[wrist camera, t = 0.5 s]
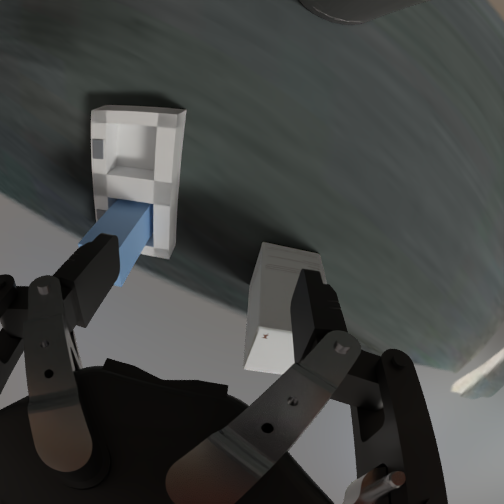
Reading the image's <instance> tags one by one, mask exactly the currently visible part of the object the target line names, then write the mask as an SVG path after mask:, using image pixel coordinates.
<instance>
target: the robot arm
mask: <svg viewBox="0 0 504 504" xmlns="http://www.w3.org/2000/svg"><path fill="white" fill-rule="evenodd" d="M299 1H300V2H301V3H302V4H303V6H304V7H306V8H307V9H308V10H309V11H311V12H312V13H313V14H315V15H317V16H319V17H321V18H323V19H325V20H328V21H330V22H334V23H339V24H346V25H355V24H362V23H365V22H368V21H371V20H373V19H376V18H379V17H382V16H384V15H387V14H390V13H393V12H395V11H398V10H401V9H404V8H407V7H410V6H414V5H417V4H420V3H424V2H427V1H431V0H299ZM119 273H120V256H119V241H118V237H117V236H116V235H111V234H106V233H100V234H99V235H98V236H97V237H96V238H95V239H94V240H93V241H92V242H88V243H86V244H84V245H82V246H80V247H79V248H78V249H77V251H75V252H74V254H72V256H71V257H70V258H69V260H67V261H66V262H65V263H64V264H63V265H62V266H61V267H60V268H59V269H58V270H57V272H56V273H55V274H54V275H53V276H50V275H46V276H41V277H39V278H37V279H35V280H34V281H33V282H32V283H31V284H30V286H29V287H28V286H16V284H15V281H14V278H13V277H12V276H11V275H6V274H5V275H0V322H1V324H2V326H3V328H2V329H1V331H0V394H1V392H2V390H3V388H4V386H5V384H6V382H7V380H8V378H9V376H10V374H11V372H12V370H13V369H14V367H15V365H16V363H17V361H18V360H19V358H20V356H21V354H22V353H23V351H24V356H25V368H26V377H27V386H28V393H29V395H28V396H26V397H25V398H22V399H21V400H19V401H17V402H15V403H13V404H11V405H9V406H7V407H5V408H3V409H1V410H0V504H334V503H333V501H332V500H331V499H330V498H329V497H328V496H327V495H326V494H325V493H324V492H323V491H322V490H321V489H320V487H319V486H318V485H317V484H316V483H315V482H314V481H313V480H312V479H311V478H310V476H309V475H308V474H307V473H306V472H305V471H304V470H303V469H302V467H301V466H300V465H299V464H298V463H297V462H296V461H295V460H294V458H293V457H292V456H291V455H290V453H288V450H289V449H290V448H291V447H292V446H293V445H294V444H295V442H296V441H297V440H298V439H299V437H300V436H301V435H302V434H303V433H304V432H305V430H306V429H307V428H308V427H309V425H310V424H311V423H312V421H313V420H314V419H315V418H316V417H317V415H318V414H319V413H320V411H321V410H322V409H323V407H324V406H325V405H326V404H327V402H328V401H329V399H333V400H336V401H339V402H343V403H346V404H349V405H350V407H351V415H352V425H353V434H354V444H355V456H356V469H357V480H355V481H353V482H352V483H351V484H350V485H349V486H348V487H347V489H346V492H345V497H344V502H343V504H448V500H447V495H446V488H445V482H444V476H443V471H442V466H441V461H440V457H439V452H438V447H437V443H436V439H435V435H434V431H433V427H432V423H431V419H430V416H429V412H428V409H427V405H426V402H425V398H424V395H423V392H422V389H421V386H420V382H419V379H418V376H417V373H416V370H415V367H414V364H413V362H412V360H411V359H410V357H409V356H408V355H407V354H405V353H404V352H402V351H400V350H397V349H388V350H386V351H385V352H384V353H383V354H382V356H378V355H375V354H372V353H369V352H366V351H363V350H362V349H361V345H360V343H359V341H358V340H357V339H356V338H355V337H354V336H353V335H351V334H349V333H348V331H347V328H346V324H345V321H344V317H343V314H342V311H341V307H340V304H339V303H338V302H339V301H338V297H337V294H336V292H335V291H334V290H333V288H332V287H331V286H330V285H329V284H323V281H322V278H321V274H320V272H319V271H315V270H309V269H302V270H301V271H300V274H299V277H298V280H297V284H296V287H295V290H294V293H293V296H292V300H291V306H290V314H291V325H292V337H293V349H294V361H295V363H294V364H293V365H292V366H291V367H290V368H289V369H288V370H287V371H286V372H285V373H284V374H283V375H282V376H281V377H280V378H279V379H278V380H277V381H276V382H275V383H273V385H271V386H270V387H269V388H268V389H267V390H266V391H265V392H264V393H263V394H262V395H261V396H260V397H259V398H258V399H256V400H255V401H254V402H253V403H252V404H251V405H250V406H248V405H247V404H246V403H244V402H242V401H241V400H239V399H237V398H235V397H233V396H231V395H228V394H227V391H228V385H223V384H217V383H210V382H204V381H199V380H162V379H159V378H157V377H155V376H153V375H151V374H149V373H147V372H145V371H143V370H141V369H139V368H138V367H135V366H133V365H130V364H126V363H122V362H119V361H115V360H112V359H109V358H107V360H106V361H105V364H104V366H93V367H86V368H83V367H82V363H81V359H80V355H79V352H78V347H77V343H76V338H75V334H74V331H73V329H74V327H75V326H76V325H78V326H81V327H84V328H86V327H87V325H88V323H89V322H90V320H91V319H92V317H93V315H94V314H95V312H96V311H97V309H98V307H99V306H100V304H101V303H102V301H103V300H104V298H105V297H106V295H107V293H108V292H109V291H110V289H111V287H112V286H113V285H114V283H115V282H116V280H117V279H118V276H119Z"/></svg>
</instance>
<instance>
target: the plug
mask: <svg viewBox="0 0 504 504" xmlns="http://www.w3.org/2000/svg"><path fill="white" fill-rule="evenodd" d="M100 233H106V234H111V235H116V236H117V237H118V241H119V256H120V273H119V276H118V279H117V280H116V282H115V283H114V285H116V286H120V287H122V285H123V283H124V281H125V280H126V278H127V276H128V274H129V273H130V271H131V269H132V267H133V265H134V264H135V262H136V260H137V258H138V257H139V255H140V253H141V251H142V250H143V248H144V246H145V245H146V243H147V241H148V240H149V238H150V236H151V235H152V233H153V204H150V203H144V202H137V201H131V200H124V199H117V200H116V201H115V203H114V204H113V205H112V206H111V207H110V208H109V209H108V210H107V211H106V212H105V213H104V214H103V216H102V217H101V218H100V219H99V220H98V221H97V222H96V223H95V225H94V226H93V227H92V228H91V229H90V230H89V231H88V233H87V234H86V235H85V236H84V237H83V239H82V240H81V241H80V242H79V243H78V246H79V247H80V246H82V245H84V244H86V243H88V242H92V241H93V240H94V239H95V238H96V237H97V236H98V235H99V234H100Z"/></svg>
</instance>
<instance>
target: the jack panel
mask: <svg viewBox="0 0 504 504" xmlns="http://www.w3.org/2000/svg"><path fill="white" fill-rule="evenodd" d="M185 118H186V110H185V109H174V108H163V107H148V106H128V105H105V106H102V107H99V108H96V109H94V110H91V159H92V179H93V192H94V204H95V213H96V222H97V221H98V220H99V219H100V218H101V217H102V216H103V214H104V213H105V212H106V211H107V210H108V209H109V208H110V207H111V206H112V205H113V204H114V203H115V201H116V200H117V199H124V200H131V201H137V202H144V203H150V204H153V233H152V235H151V236H150V238H149V240H148V241H147V243H146V245H145V246H144V248H143V250H142V251H141V253H140V254H144V255H149V256H154V257H159V258H165V259H169V258H170V256H171V253H172V251H173V249H174V247H175V245H176V226H177V207H178V192H179V178H180V166H181V155H182V145H183V136H184V127H185Z"/></svg>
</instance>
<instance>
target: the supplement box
mask: <svg viewBox="0 0 504 504" xmlns="http://www.w3.org/2000/svg"><path fill="white" fill-rule="evenodd" d="M302 269H309V270H315V271H319V272H320V274H321V278H322V281H323V284H327V282H326V278H325V273H324V269H323V265H322V261H321V256H320V254H318V253H313V252H308V251H304V250H299V249H294V248H290V247H285V246H280V245H276V244H271V243H266V242H262V246H261V249H260V252H259V256H258V259H257V262H256V266H255V269H254V272H253V276H252V279H251V282H250V287H249V301H248V314H247V326H246V339H245V353H244V365H243V366H244V367H243V368H244V369H245V370H252V371H259V372H267V373H274V374H282V375H283V374H284V373H285V372H286V371H287V370H288V369H289V368H290V367H291V366H292V365H293V364H294V363H295V361H294V349H293V337H292V325H291V314H290V306H291V300H292V296H293V293H294V290H295V287H296V284H297V280H298V277H299V274H300V271H301V270H302Z"/></svg>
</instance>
